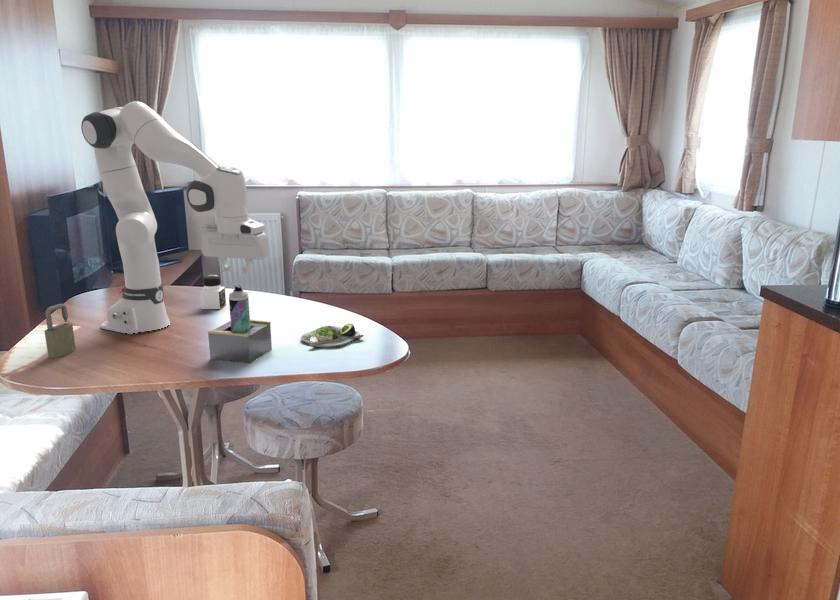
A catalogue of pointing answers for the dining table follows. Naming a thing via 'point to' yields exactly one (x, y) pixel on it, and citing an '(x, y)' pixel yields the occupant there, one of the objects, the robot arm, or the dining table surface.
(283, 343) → the dining table surface
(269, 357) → the dining table surface
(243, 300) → the spray can
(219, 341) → the socket block
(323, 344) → the salad plate
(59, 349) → the padlock
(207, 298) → the medicine bottle
